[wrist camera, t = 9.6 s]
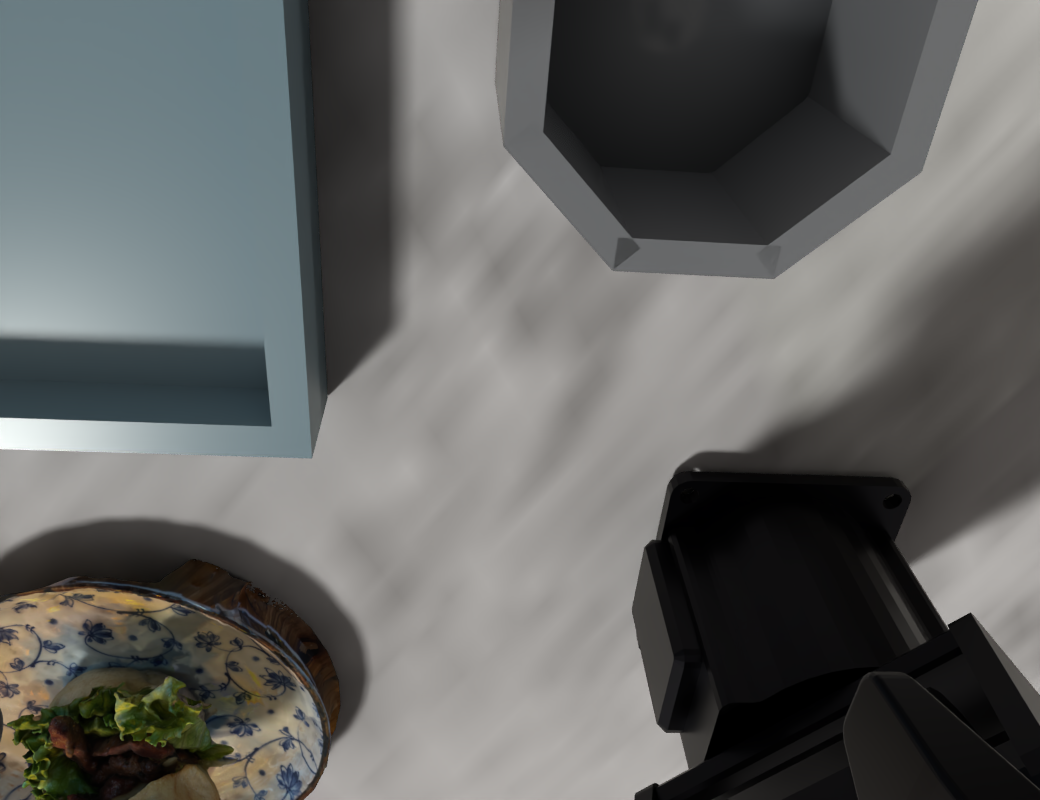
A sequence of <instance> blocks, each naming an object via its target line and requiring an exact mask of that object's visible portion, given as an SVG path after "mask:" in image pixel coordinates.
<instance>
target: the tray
mask: <svg viewBox="0 0 1040 800" xmlns="http://www.w3.org/2000/svg"><path fill="white" fill-rule="evenodd" d="M327 398H328V397H327V376H326V356H325V336H324V315H323V295H322V275H321V255H320V234H319V214H318V194H317V173H316V153H315V133H314V113H313V92H312V72H311V52H310V31H309V11H308V0H0V449H19V450H52V451H85V452H118V453H152V454H185V455H218V456H251V457H284V458H312V456H313V453H314V449H315V445H316V441H317V437H318V433H319V429H320V425H321V421H322V417H323V413H324V409H325V405H326V402H327Z"/></svg>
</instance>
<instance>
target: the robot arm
mask: <svg viewBox="0 0 1040 800" xmlns="http://www.w3.org/2000/svg"><path fill="white" fill-rule="evenodd" d="M689 488H692V489H694V491H692V492H691V493H689V494H681V492H682V491H684V490H685V489H689ZM892 494H894V495H893V496H892V497H891V498H889V499H885V498H886V497H887V496H889V495H892ZM884 499H885V500H884ZM910 501H911V495H910V492H909V490H908V489H907V488H906V486H905V485H904V483H903V482H902V481H900V480H899V479H897V478H892V477H860V476H827V475H794V474H760V473H727V472H693V471H689V472H682V473H680V474H677V475H675V476H674V477H673V478H672V479H671V480H670V482H669V484H668V486H667V491H666V495H665V500H664V505H663V509H662V514H661V519H660V524H659V528H658V533H657V538H656V540H651V541H650V542H649V543H648V544H647V545H646V546H645V548H644V552H643V557H642V562H641V567H640V572H639V577H638V581H637V586H636V591H635V596H634V601H633V606H632V614H633V618H634V623H635V627H636V634H637V641H638V645H639V648H640V650H641V654H642V659H643V664H644V668H645V673H646V677H647V682H648V686H649V691H650V695H651V700H652V704H653V709H654V713H655V718H656V722H657V724H658V725H659V726H660V727H661V728H662V730H663V731H664V732H666V733H680V735H681V739H682V743H683V748H684V752H685V756H686V760H687V764H688V768H689V770H687V771H685V772H683V773H681V774H679V775H677V776H676V777H674V778H672V779H670V780H668V781H666V782H664V783H663V784H661V785H658V784H657V783H654V784H652V785H650V786H648V787H646V788H644V789H643V790H641V791H639V792H637V793H636V794H635V800H1040V695H1039V694H1038V692H1037V691H1036V690H1035V689H1034V688H1033V686H1032V685H1031V684H1030V683H1029V682H1028V680H1027V679H1026V678H1025V677H1024V676H1023V674H1022V673H1021V672H1020V671H1019V670H1018V668H1017V667H1016V666H1015V665H1014V664H1013V662H1012V661H1011V660H1010V659H1009V657H1008V656H1007V655H1006V654H1005V653H1004V651H1003V650H1002V649H1001V648H1000V647H999V645H998V644H997V643H996V642H995V641H994V639H993V638H992V637H991V636H990V635H989V633H988V632H987V631H986V630H985V629H984V627H983V626H982V625H981V624H980V623H979V621H978V620H977V619H976V618H975V616H974V615H973V614H972V613H969V614H967V615H965V616H963V617H961V618H960V619H958V620H956V621H954V622H952V623H950V624H948V627H949V629H948V628H947V626H946V624H945V623H944V621H943V620H942V618H941V616H940V615H939V613H938V612H937V610H936V608H935V607H934V605H933V604H932V602H931V600H930V599H929V597H928V596H927V594H926V592H925V591H924V589H923V588H922V586H921V584H920V583H919V581H918V580H917V578H916V576H915V575H914V573H913V572H912V570H911V568H910V567H909V565H908V564H907V562H906V560H905V559H904V557H903V556H902V554H901V552H900V551H899V549H898V548H897V546H896V544H895V543H894V541H895V539H896V536H897V534H898V531H899V529H900V526H901V524H902V521H903V519H904V516H905V514H906V512H907V509H908V507H909V504H910ZM3 724H4V723H3V715H2V711H1V708H0V741H1V738H2V733H3Z"/></svg>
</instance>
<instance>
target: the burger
mask: <svg viewBox="0 0 1040 800" xmlns="http://www.w3.org/2000/svg"><path fill="white" fill-rule="evenodd" d="M194 560H195V561H194ZM216 568H218V569H216ZM248 583H251V582H245V581H242V580H240V579H236V578H233V577H231V576H230V575H229V574H228V572H227V571H226V570H223V569H221V568H220V567H218V566H215V565H213V564H209V563H207V562H202V561H200V560H196V559H193V560H189V561H188V562H187V563H185V564H184V565H183V566H182V567H180V568H178V569H176V570H175V571H173V572H172V573H170V574H169V575H167V576H166V577H165V578H164V579H163V580H162V581H160V582H157V583H151V582H149V583H148V582H142V583H140V582H137V581H130V580H128V581H123V580H118V579H114V578H100V579H98V578H90V577H88V576H79V577H70V578H67V579H65V580H62V581H60V582H57V583H54V584H52V585H49V586H46V587H42V588H39V589H35V590H32V591H28V592H22V593H15V594H8V595H4V596H1V597H0V708H1V711H2V715H3V723H4V724H3V733H2V738H1V741H0V800H304V799H305V798H306V797H307V796H308V795H309V794H310V793H311V792H312V791H313V790H314V789H315V787H316V785H317V783H318V781H319V779H320V777H321V775H322V774H323V771H324V769H325V768H326V767H327V761H328V755H329V751H330V746H331V736H332V734H333V732H334V730H335V728H336V723H337V719H338V714H339V710H340V693H339V681H338V678H337V675H336V672H335V670H334V667H333V664H332V661H331V659H330V656H329V654H328V652H327V651H326V649H325V648H324V646H323V645H322V643H321V642H320V641H319V639H318V638H317V636H316V635H315V634H314V632H313V631H312V629H311V628H310V627H309V626H308V625H307V624H306V623H305V622H304V621H303V620H302V619H301V618H300V617H297V616H298V615H297V614H296V613H295V612H294V611H293V610H292V609H290V608H289V607H288V606H287V605H286V604H285V605H284V606H286V607H284V606H283V605H282V604H283V602H282V604H278V602H276V604H273V605H269V604H267V603H268V602H269V599H270V597H268V596H267V597H266V594H265V593H263V592H262V590H260V588H255V590H254V593H253V591H250V590H249V589H250V588H248V589H246V588H247V587H246V586H247V585H250V586H251V584H248ZM253 588H254V587H253ZM252 590H253V589H252ZM259 594H261V595H259ZM262 595H264V596H265V597H263V596H262ZM275 599H276V598H275ZM272 602H275V601H274V600H273V601H272ZM277 604H278V605H277ZM275 605H277V606H276V607H275ZM279 608H283V609H279ZM291 613H293V614H291Z"/></svg>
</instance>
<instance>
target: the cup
mask: <svg viewBox="0 0 1040 800" xmlns="http://www.w3.org/2000/svg"><path fill="white" fill-rule="evenodd" d="M977 2H978V0H500V3H499V20H498V37H497V54H496V71H495V86H496V94H497V101H498V109H499V117H500V124H501V132H502V140H503V146H504V147H505V149H506V150H507V151H508V152H509V153H510V154H511V155H512V157H513V158H514V159H515V160H516V161H517V162H518V163H519V165H520V166H521V167H522V168H523V169H524V170H525V171H526V173H527V174H528V175H529V176H530V177H531V178H532V179H533V181H534V182H535V183H536V184H537V185H538V186H539V187H540V189H541V190H542V191H543V192H544V193H545V194H546V195H547V197H548V198H549V199H550V200H551V201H552V202H553V203H554V205H555V206H556V207H557V208H558V209H559V210H560V211H561V212H562V214H563V215H564V216H565V217H566V218H567V219H568V220H569V222H570V223H571V224H572V225H573V226H574V227H575V228H576V230H577V231H578V232H579V233H580V234H581V235H582V236H583V238H584V239H585V240H586V241H587V242H588V243H589V244H590V246H591V247H592V248H593V249H594V250H595V251H596V252H597V254H598V255H599V256H600V257H601V258H602V259H603V260H604V262H605V263H606V264H607V265H608V266H609V267H610V268H611V270H613V271H625V272H645V273H665V274H685V275H705V276H725V277H745V278H765V279H773V278H776V277H777V276H779V275H780V274H781V273H783V272H784V271H785V270H787V269H788V268H790V267H791V266H792V265H794V264H795V263H797V262H798V261H799V260H801V259H802V258H803V257H805V256H806V255H808V254H809V253H810V252H812V251H813V250H814V249H816V248H817V247H819V246H820V245H821V244H823V243H824V242H826V241H827V240H828V239H830V238H831V237H832V236H834V235H835V234H837V233H838V232H839V231H841V230H842V229H843V228H845V227H846V226H848V225H849V224H850V223H852V222H853V221H855V220H856V219H857V218H859V217H860V216H861V215H863V214H864V213H866V212H867V211H868V210H870V209H871V208H872V207H874V206H875V205H877V204H878V203H879V202H881V201H882V200H884V199H885V198H886V197H888V196H889V195H890V194H892V193H893V192H895V191H896V190H897V189H899V188H900V187H902V186H903V185H904V184H906V183H907V182H908V181H910V180H911V179H913V178H914V177H915V176H917V175H918V174H919V173H921V171H922V169H923V166H924V163H925V160H926V157H927V154H928V151H929V148H930V145H931V142H932V139H933V136H934V133H935V130H936V127H937V124H938V121H939V118H940V115H941V112H942V109H943V105H944V102H945V99H946V96H947V93H948V90H949V87H950V84H951V81H952V78H953V75H954V72H955V69H956V66H957V63H958V60H959V57H960V54H961V51H962V48H963V45H964V42H965V39H966V36H967V32H968V29H969V26H970V23H971V20H972V17H973V14H974V11H975V8H976V5H977Z"/></svg>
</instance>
